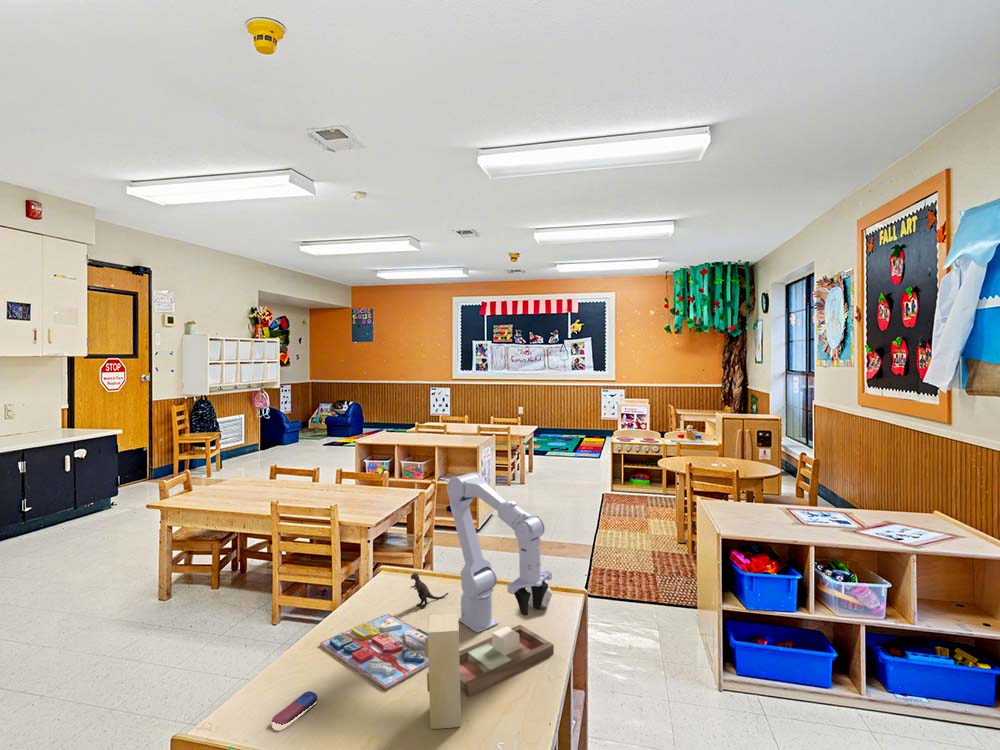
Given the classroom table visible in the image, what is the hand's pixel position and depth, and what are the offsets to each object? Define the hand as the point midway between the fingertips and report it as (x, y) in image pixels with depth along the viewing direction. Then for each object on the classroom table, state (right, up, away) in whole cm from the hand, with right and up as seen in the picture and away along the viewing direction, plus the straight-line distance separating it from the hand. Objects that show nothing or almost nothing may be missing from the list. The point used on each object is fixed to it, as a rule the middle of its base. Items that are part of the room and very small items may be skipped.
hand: (530, 611), depth 144 cm
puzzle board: (-39, -11, 0) cm, 40 cm away
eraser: (-54, -12, -26) cm, 61 cm away
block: (-7, -7, -5) cm, 11 cm away
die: (+4, -9, +23) cm, 25 cm away
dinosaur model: (-31, -9, +26) cm, 41 cm away
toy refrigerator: (-21, -11, -27) cm, 36 cm away
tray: (-9, -10, -7) cm, 15 cm away
